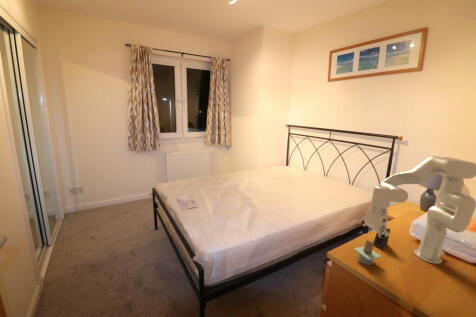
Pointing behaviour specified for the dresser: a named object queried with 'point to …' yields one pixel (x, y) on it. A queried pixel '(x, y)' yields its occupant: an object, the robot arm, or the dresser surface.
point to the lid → (367, 251)
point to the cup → (365, 260)
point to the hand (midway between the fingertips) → (371, 238)
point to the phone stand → (384, 243)
